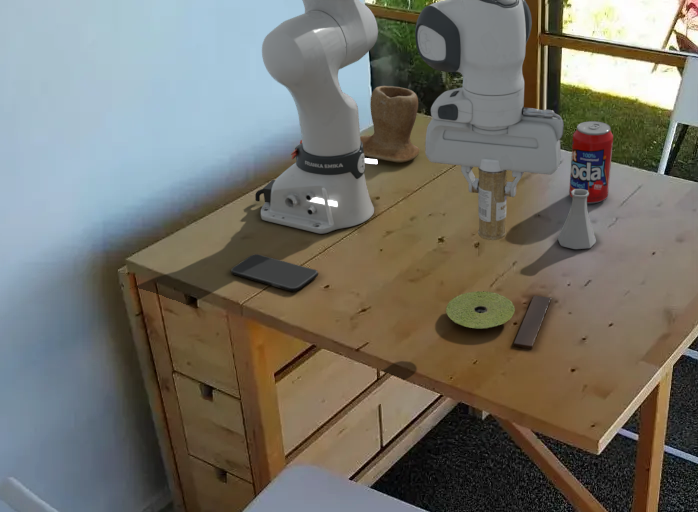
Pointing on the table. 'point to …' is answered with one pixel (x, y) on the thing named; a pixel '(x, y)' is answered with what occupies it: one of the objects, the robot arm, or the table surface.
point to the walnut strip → (532, 322)
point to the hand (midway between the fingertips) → (492, 193)
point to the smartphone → (274, 272)
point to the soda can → (591, 160)
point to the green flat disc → (480, 309)
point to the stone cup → (392, 124)
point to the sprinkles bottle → (491, 200)
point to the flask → (577, 224)
